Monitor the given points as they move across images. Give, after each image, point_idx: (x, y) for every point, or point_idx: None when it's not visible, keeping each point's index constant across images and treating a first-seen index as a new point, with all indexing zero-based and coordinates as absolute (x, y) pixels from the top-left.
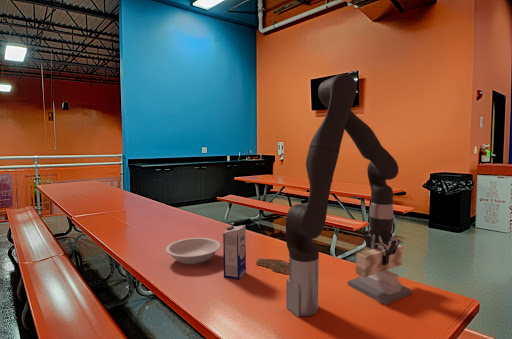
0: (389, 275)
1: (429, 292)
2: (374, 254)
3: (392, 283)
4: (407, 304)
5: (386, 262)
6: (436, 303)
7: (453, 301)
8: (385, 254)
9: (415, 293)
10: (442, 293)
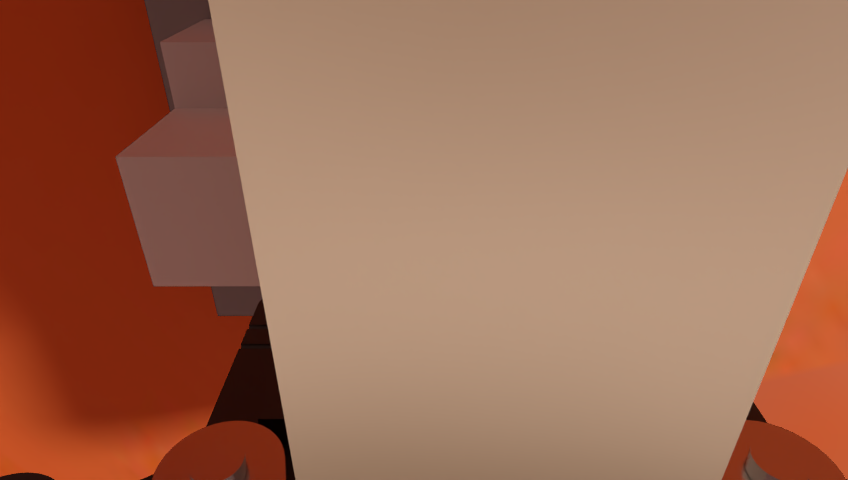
0: (185, 158)
1: (195, 406)
2: (221, 29)
3: (164, 117)
4: (78, 94)
5: (252, 318)
6: (31, 313)
7: (30, 421)
8: (171, 467)
9: (223, 319)
10: (151, 455)
